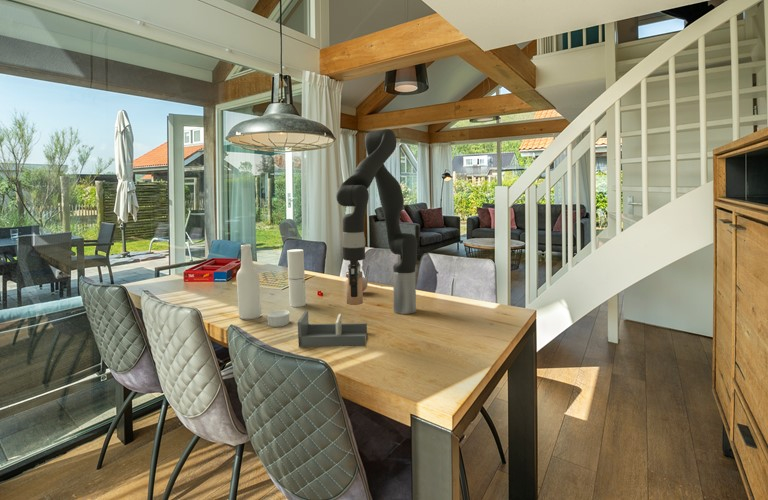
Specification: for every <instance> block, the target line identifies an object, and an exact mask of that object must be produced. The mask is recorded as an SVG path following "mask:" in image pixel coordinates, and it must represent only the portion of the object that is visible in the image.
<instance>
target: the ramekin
mask: <svg viewBox="0 0 768 500" xmlns="http://www.w3.org/2000/svg"><path fill="white" fill-rule="evenodd" d="M265 315H266V318H267V324H268V326H269V327H272V328H273V327H274V328H275V327H278V328H279V327H284V326H287V325H288V324H289V323H290V315H291V313H290V311H289V310H286V309H277V310H272V311H268V312H267V313H266V314H265Z"/></svg>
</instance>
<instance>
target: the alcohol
mask: <svg viewBox="0 0 768 500" xmlns="http://www.w3.org/2000/svg"><path fill="white" fill-rule="evenodd" d="M236 291H237V304H238V305H237V306H238V316H239V318H240V319H241V320H244V319H245V321H246V320H247V321H249V320H255V318H256V319H258V318H260V317H261V315H262V301H261V299H262V297H261V285H260V274H259V270H258V269H257V268H256V267H255V266H254V261H253V253H252V245H251V244H249V243H246V244H241V245H240V268H239V269H238V270H237V272H236Z"/></svg>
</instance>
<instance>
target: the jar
mask: <svg viewBox="0 0 768 500" xmlns="http://www.w3.org/2000/svg"><path fill="white" fill-rule="evenodd" d="M362 276H363V271H361V270H360V272H359V279H358V286H357V291H358V296H357V297H351V286H350V284H349V283H350V282H349V271H348V270H347V271H345V278H346V280H345V282H346V304H347V305H348V306H349V305H350V306H358V305H362V304H363V303H364V300H363V299H364V298H363V297H364V295H363V293H364V291H363V290H362ZM363 277H364V276H363ZM352 282H355V279H352Z"/></svg>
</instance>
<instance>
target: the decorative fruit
mask: <svg viewBox="0 0 768 500" xmlns="http://www.w3.org/2000/svg"><path fill="white" fill-rule="evenodd" d="M368 284H369V283H368V279H367V278H366V277H365V276H362V290H363V292H364V291H365V290H366V289H367V288H368Z"/></svg>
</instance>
